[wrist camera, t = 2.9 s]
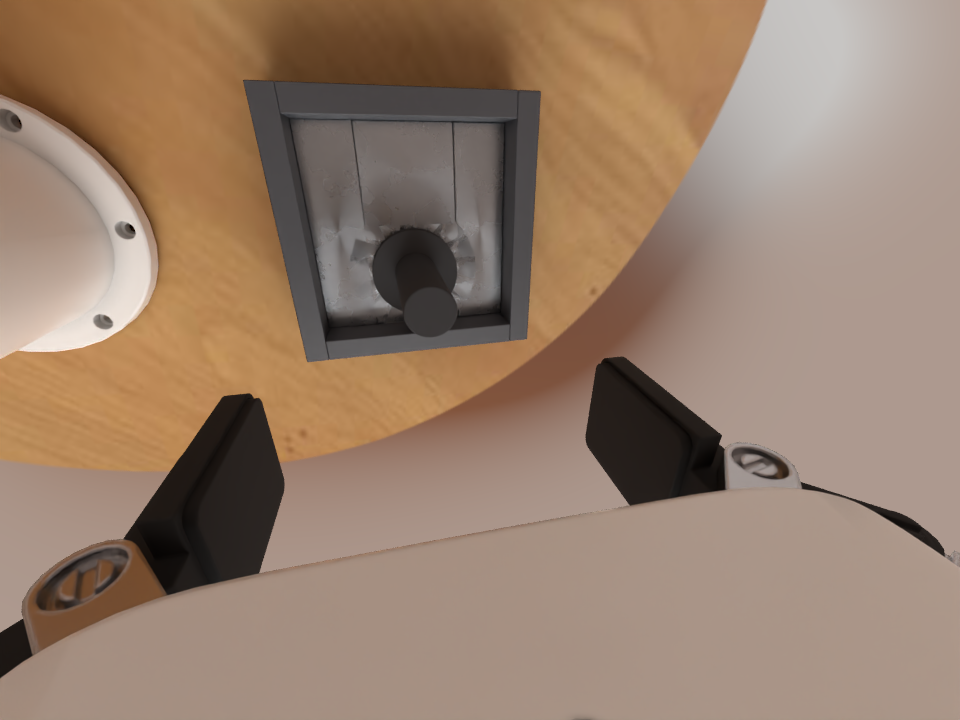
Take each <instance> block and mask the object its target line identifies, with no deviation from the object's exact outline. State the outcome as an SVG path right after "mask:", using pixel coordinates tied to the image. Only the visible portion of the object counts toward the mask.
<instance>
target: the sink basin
mask: <svg viewBox="0 0 960 720" xmlns="http://www.w3.org/2000/svg"><path fill="white" fill-rule="evenodd" d="M243 82H244V86H245V91H246V95H247V100H248V104H249V108H250V113H251V117H252V122H253V126H254V130H255V135H256V139H257V144H258V148H259V152H260V157H261V161H262V165H263V170H264V174H265V179H266V183H267V187H268V192H269V196H270V201H271V205H272V209H273V214H274V218H275V222H276V227H277V231H278V236H279V240H280V244H281V249H282V253H283V258H284V262H285V266H286V271H287V275H288V280H289V284H290V288H291V293H292V297H293V301H294V306H295V310H296V315H297V319H298V323H299V328H300V332H301V337H302V341H303V345H304V350H305V354H306V358H307V362H314V361H323V360H329V359H330V360H332V359H341V358H351V357H361V356H370V355H380V354H389V353H399V352H409V351H418V350H428V349H438V348H447V347H457V346H467V345H476V344H486V343H496V342H505V341H509V340H510V341H514V340H524V339H527V329H528V311H529V294H530V276H531V258H532V240H533V222H534V204H535V186H536V168H537V150H538V133H539V115H540V97H541V92H540V91H530V90H519V91H518V90H506V89H478V88H451V87H424V86H397V85H370V84H342V83H315V82H288V81H262V80H243ZM290 118H301V119H350V120H407V121H452V122H454V121H459V122H504V123H505V152H504V196H503V241H502V286H501V313H494V314H482V315H471V316H458V317H457V318H456V321H455V323H454V325H453V326H452V327H451V328H450V329H449V330H448V331H447V332H446V333H444V334H442V335H440V336H437V337H422V336H419V335H417V334H415V333H414V332H412V331H411V330H410V329H409V328H408V326H407V325H406V323H405V322H397V323H380V324H378V323H377V324H370V325H359V326H348V327H336V328H329V326H328V320H327V315H326V310H325V305H324V300H323V294H322V289H321V284H320V279H319V273H318V268H317V263H316V258H315V252H314V247H313V242H312V237H311V232H310V226H309V221H308V216H307V211H306V205H305V200H304V195H303V190H302V185H301V179H300V174H299V169H298V164H297V158H296V153H295V148H294V143H293V137H292V132H291V127H290V122H289V119H290Z"/></svg>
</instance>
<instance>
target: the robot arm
mask: <svg viewBox="0 0 960 720" xmlns="http://www.w3.org/2000/svg"><path fill="white" fill-rule="evenodd" d="M18 119H20V120H21V124H22V126H21V125H20V124H19V121H18ZM130 224H131V225H132V226H133V227H134V229H135V232H133V231H132V230H131V229H130V228H129V225H130ZM158 267H159V265H158V254H157V244H156V241H155V238H154V235H153V231H152V228H151V225H150V222H149V220H148V218H147V216H146V214H145V212H144V210H143V208H142V206H141V205H140V203H139V201H138V199H137V197H136V196H135V194H134V193H133V192H132V190H131V189H130V188H129V186H128V185H127V184H126V182H125V181H124V180H123V178H122V177H121V176H120V174H119V173H118V172H117V171H116V170H115V169H114V168H113V167H112V166H111V165H110V164H109V163H108V162H107V161H106V160H105V159H104V158H103V157H102V156H101V155H100V154H99V153H98V152H97V151H96V150H95V149H94V148H92V147H91V146H90V145H89V144H87V143H86V142H85V141H83V140H82V139H81V138H80V137H78V136H77V135H76V134H74V133H73V132H72V131H70V130H69V129H68V128H66V127H65V126H63V125H61V124H60V123H58V122H56V121H54V120H53V119H51V118H49V117H48V116H46V115H44V114H43V113H41V112H39V111H37V110H36V109H34V108H31V107H29V106H27V105H24V104H22V103H20V102H17V101H15V100H13V99H10V98H8V97H6V96H3V95H1V94H0V359H1V358H3V357H5V356H7V355H9V354H11V353H13V352H14V351H16V350H20V351H29V352H53V351H64V350H70V349H76V348H82V347H85V346H88V345H91V344H94V343H97V342H99V341H102V340H105V339H106V338H108V337H110V336H111V335H113V334H115V333H117V332H118V331H120V330H122V329H123V328H124V327H125V326H127V325H128V324H129V323H131V322H132V321H133V320H135V319H136V318H137V317H138V316H139V314H140V313H141V312H142V310H143V309H144V308H145V307H146V305H147V304H148V303H149V300H150V298H151V296H152V293H153V291H154V289H155V286H156V281H157V274H158ZM721 437H722V435H721V434H720V433H718V432H717V431H716V430H715V429H713V428H712V427H711V426H710V425H708V424H707V423H706V422H705V421H703V420H702V419H701V418H700V417H698V416H697V415H696V414H694V413H693V412H692V411H691V410H689V409H688V408H687V407H686V406H685V405H683V404H682V403H681V402H680V401H678V400H677V399H676V398H675V397H673V396H672V395H671V394H670V393H669V392H667V391H666V390H665V389H664V388H662V387H661V386H660V385H659V384H657V383H656V382H655V381H654V380H652V379H651V378H650V377H649V376H647V375H646V374H644V372H642V371H641V370H640V369H639V368H637V367H636V366H635V365H634V364H632V363H631V362H630V361H629V360H627V359H626V358H624V357H614V358H605V359H603V360H602V362H601V364H598V365H597V367H596V373H595V379H594V385H593V392H592V398H591V404H590V411H589V417H588V424H587V431H586V443H587V446H588V448H589V449H590V451H591V452H592V453H593V455H594V456H595V458H596V459H597V460H598V462H599V463H600V465H601V466H602V467H603V469H604V470H605V472H606V473H607V474H608V476H609V477H610V478H611V480H612V481H613V483H614V484H615V486H616V487H617V488H618V490H619V491H620V492H621V494H622V495H623V497H624V498H625V499H626V501H627V502H628V504H629V505H630V506H625V507H619V508H613V509H608V510H601V511H596V512H590V513H585V514H579V515H573V516H567V517H561V518H556V519H550V520H545V521H539V522H534V523H528V524H522V525H517V526H511V527H506V528H501V529H495V530H489V531H484V532H479V533H473V534H467V535H462V536H456V537H451V538H445V539H440V540H434V541H429V542H424V543H418V544H413V545H408V546H402V547H397V548H392V549H386V550H381V551H376V552H370V553H365V554H359V555H355V556H349V557H343V558H338V559H332V560H327V561H322V562H317V563H311V564H306V565H301V566H295V567H290V568H285V569H279V570H274V571H269V572H264V573H259V572H260V568H261V565H262V561H263V558H264V555H265V552H266V549H267V545H268V542H269V539H270V536H271V532H272V529H273V526H274V522H275V519H276V516H277V512H278V509H279V506H280V503H281V499H282V496H283V493H284V477H283V473H282V470H281V467H280V463H279V460H278V456H277V453H276V449H275V446H274V442H273V439H272V435H271V432H270V428H269V425H268V421H267V418H266V414H265V411H264V408H263V404H262V401H261V400H260V399H259V398H255V399H254V398H253V396H252V395H251V394H239V395H229V396H224V397H223V398H222V399H221V400H220V402H219V403H218V404H217V406H216V407H215V409H214V410H213V412H212V413H211V415H210V416H209V417H208V419H207V420H206V422H205V423H204V425H203V426H202V428H201V429H200V430H199V432H198V433H197V435H196V436H195V438H194V439H193V441H192V442H191V443H190V445H189V446H188V448H187V449H186V451H185V452H184V453H183V455H182V456H181V457H180V458H179V460H178V461H177V462H176V464H175V465H174V467H173V468H172V470H171V471H170V473H169V474H168V475H167V477H166V478H165V480H164V481H163V483H162V484H161V485H160V487H159V488H158V490H157V491H156V493H155V494H154V496H153V497H152V498H151V500H150V501H149V503H148V504H147V506H146V507H145V508H144V510H143V511H142V513H141V514H140V516H139V517H138V519H137V520H136V521H135V523H134V525H133V526H132V527H131V529H130V530H129V532H128V533H127V534H126V536H125V537H124V539H118V540H108V541H104V542H100V543H97V544H94V545H91V546H89V547H86V548H84V549H82V550H79V551H77V552H75V553H73V554H71V555H70V556H68V557H66V558H65V559H63V560H61V561H60V562H58V563H57V564H55V565H54V566H53V567H52V568H50V569H49V570H48V571H47V572H46V573H44V574H43V575H42V576H41V577H40V578H39V579H38V580H37V581H36V582H35V583H34V585H33V586H31V588H30V589H29V590H28V592H27V594H26V596H25V598H24V599H23V601H22V616H23V619H22V620H20V621H18V622H17V623H15V624H14V625H12V626H10V627H9V628H7V629H6V630H4V631H2V632H1V633H0V720H960V553H958V552H956V551H954V552H953V553H952V554H951V555H950V556H949V555H947V554H945V553H944V549H943V547H942V546H941V544H940V543H939V542H938V540H937V539H936V538H935V537H934V536H932V535H931V534H930V533H929V532H928V531H926V530H925V529H924V528H922V527H921V526H920V525H919V524H918V523H916V522H915V521H914V520H912V519H910V518H908V517H907V516H905V515H903V514H900V513H897V512H894V511H890V510H887V509H883V508H881V507H877V506H874V505H871V504H868V503H865V502H862V501H858V500H856V499H852V498H849V497H846V496H843V495H840V494H837V493H833V492H830V491H827V490H824V489H821V488H818V487H815V486H811V485H808V484H805V483H802V482H800V479H799V475H798V472H797V471H796V469H795V467H794V465H793V464H791V462H790V461H789V460H787V459H786V458H785V457H783V456H782V455H780V454H778V453H777V452H775V451H773V450H770V449H768V448H765V447H763V446H760V445H757V444H751V443H733V444H730V445H728V446H727V447H726V448H725V449H724V448H723V447H722V446H720V445H719V442H720V440H721Z"/></svg>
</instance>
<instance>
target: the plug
mask: <svg viewBox="0 0 960 720" xmlns="http://www.w3.org/2000/svg"><path fill="white" fill-rule="evenodd" d="M372 274H373V280H374V284H375V287H376V289H377V291H378V292H379V294H380V295H381V297H382V298H383V299H384V300H385V301H386V302H387V303H388V304H390V305H391V306H393V307H394V308H396V309H398V310H401V311H402V312H403V317H404V321H405V323H406V325H407V326H408V328H409V329H410V330H411V331H412V332H414V333H415V334H417V335H419V336H422V337H437V336H440V335H442V334H444V333H446V332H447V331H448V330H449V329H450V328H451V327H452V326H453V325H454V323H455V321H456V318H457V314H458V308H457V303H456V301H455V299H454V297H453V295H452V294H451V293H452V291H453V289H454V287H455V284H456V280H457V264H456V259H455V257H454V254H453V252H452V250H451V249H450V247H449V246H448V245H447V244H446V243H445V241H444V240H443V239H441V238H440V237H439V236H438V235H436V234H434V233H432V232H430V231H428V230H425V229H420V228H407V229H403V230H399V231H397V232H395V233H393V234H391V235H390V236H388V237H387V238H386V239H385V240H384V241H383V242H382V243H381V244H380V246H379V247H378V249H377V251H376V253H375V256H374V259H373V266H372Z"/></svg>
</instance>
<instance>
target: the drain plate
mask: <svg viewBox="0 0 960 720" xmlns="http://www.w3.org/2000/svg"><path fill="white" fill-rule="evenodd" d="M289 122H290V127H291V132H292V137H293V143H294V148H295V153H296V158H297V164H298V169H299V174H300V179H301V185H302V190H303V195H304V200H305V205H306V211H307V216H308V221H309V226H310V232H311V237H312V242H313V247H314V252H315V258H316V263H317V268H318V273H319V279H320V284H321V289H322V294H323V300H324V305H325V310H326V315H327V320H328V326H329V328H336V327H348V326H359V325H370V324H377V323H378V324H380V323H397V322H405V321H404V317H403V312H402V311H401V310H398V309H396V308H394V307H393V306H391V305H390V304H388V303H387V302H386V301H385V300H384V299H383V298H382V297H381V295H380V294H379V292H378V291H377V289H376V287H375V284H374V280H373V274H372V266H373V259H374V256H375V253H376V251H377V249H378V247H379V246H380V244H381V243H382V242H383V241H384V240H385V239H386V238H387V237H388V236H390V235H391V234H393V233H395V232H397V231H399V230H403V229H407V228H420V229H425V230H428V231H430V232H432V233H434V234H436V235H438V236H439V237H440V238H441V239H443V240H444V241H445V243H446V244H447V245H448V246H449V247H450V249H451V250H452V252H453V254H454V257H455V259H456V264H457V280H456V284H455V287H454V289H453V291H452V293H451V294H452V295H453V297H454V299H455V301H456V303H457V308H458V314H457V317H458V316H471V315H482V314H494V313H501V286H502V241H503V196H504V152H505V123H504V122H459V121H454V122H452V121H407V120H350V119H301V118H290V119H289Z"/></svg>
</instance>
